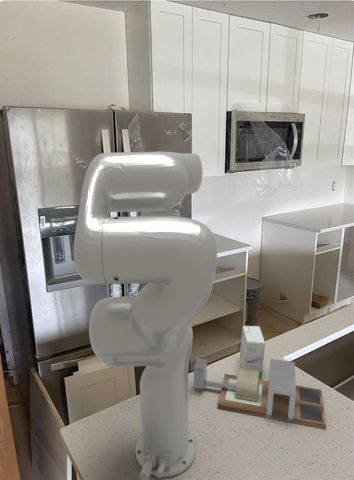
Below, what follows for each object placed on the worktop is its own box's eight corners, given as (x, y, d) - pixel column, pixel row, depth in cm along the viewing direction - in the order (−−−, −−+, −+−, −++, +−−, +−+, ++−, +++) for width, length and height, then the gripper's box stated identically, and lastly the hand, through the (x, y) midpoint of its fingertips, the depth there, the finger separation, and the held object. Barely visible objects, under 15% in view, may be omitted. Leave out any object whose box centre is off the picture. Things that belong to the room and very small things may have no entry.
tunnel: (293, 422, 85) (295, 393, 82) (266, 417, 86) (268, 389, 84) (292, 388, 96) (294, 362, 93) (268, 384, 97) (270, 358, 95)
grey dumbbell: (257, 401, 89) (258, 380, 87) (193, 389, 93) (193, 369, 91) (259, 385, 95) (260, 365, 93) (198, 375, 99) (198, 355, 97)
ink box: (239, 361, 107) (240, 324, 104) (257, 361, 107) (259, 325, 104) (243, 380, 99) (245, 341, 96) (263, 380, 99) (265, 341, 95)
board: (325, 429, 83) (326, 424, 82) (217, 408, 89) (217, 404, 89) (320, 393, 94) (321, 389, 93) (224, 377, 100) (225, 373, 100)
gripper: (198, 204, 89) (198, 270, 94) (132, 201, 94) (135, 264, 99) (191, 210, 82) (191, 281, 87) (120, 206, 87) (123, 274, 92)
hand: (161, 272), depth 93 cm, fingers open, 9 cm apart
